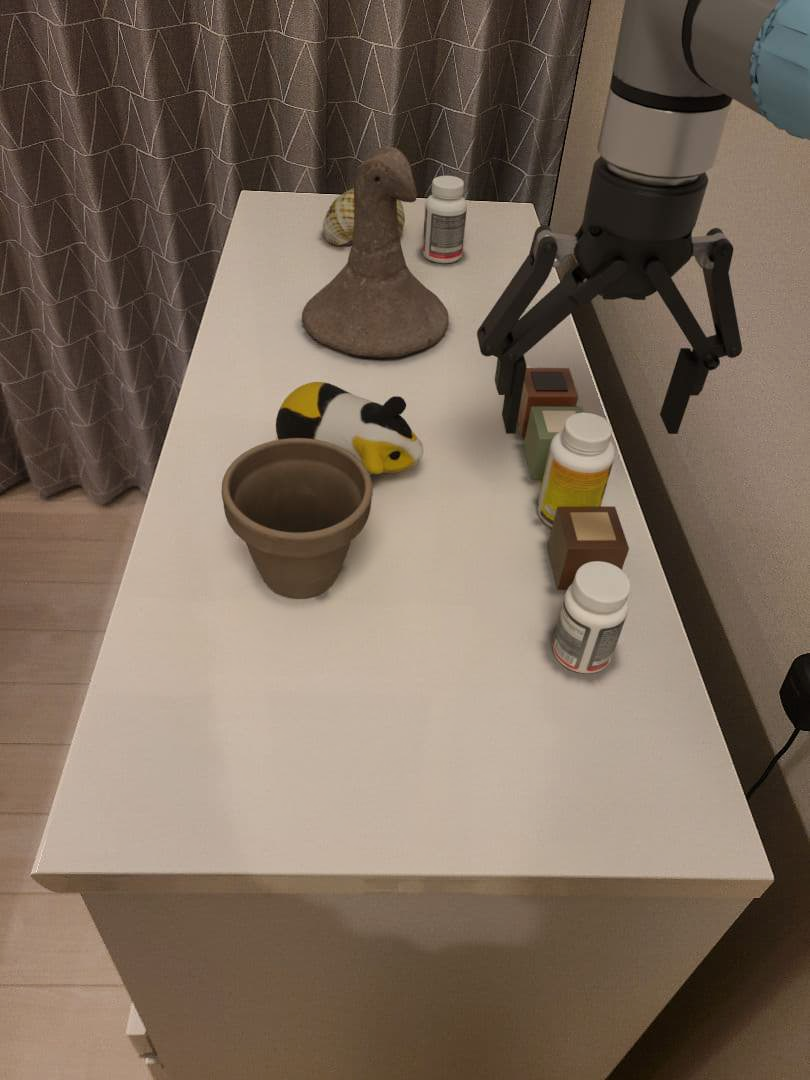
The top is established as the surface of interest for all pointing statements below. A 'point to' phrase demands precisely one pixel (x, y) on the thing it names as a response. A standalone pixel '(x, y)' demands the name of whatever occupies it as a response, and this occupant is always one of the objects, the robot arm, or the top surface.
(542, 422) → the block far
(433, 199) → the pill bottle
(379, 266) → the sculpture
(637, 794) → the top surface
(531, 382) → the block end
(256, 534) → the flower pot
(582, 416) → the supplement bottle
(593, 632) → the pill bottle
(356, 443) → the figurine
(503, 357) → the robot arm
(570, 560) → the block near
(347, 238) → the seashell
